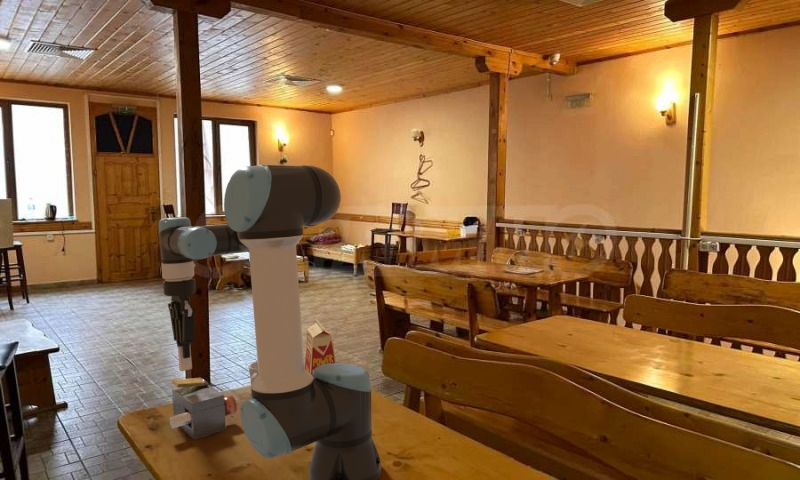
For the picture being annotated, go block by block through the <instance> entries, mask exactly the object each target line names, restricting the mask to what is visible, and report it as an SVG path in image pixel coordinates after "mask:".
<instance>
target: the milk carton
mask: <svg viewBox="0 0 800 480" xmlns="http://www.w3.org/2000/svg"><path fill="white" fill-rule="evenodd" d="M314 319H315V323H313V324H312V325H311V326H310V327H308V328H307V329H306V348H305V356H304V368H305V370H306V371H307V372H309V373H310V374H311V375H312V376H313V373H314V369H315V368H316V367H317V366H320V365H324V364H334V363H337V361H336V353H335V348H334V343H333V338H332V335H331V334H330V332H329V331H328V330H327V329H326V328H325V327H324V326H323V325H322V323H321V322H320V321H319V319H318V318H314ZM313 378H314V376H313Z"/></svg>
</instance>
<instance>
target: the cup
mask: <svg viewBox="0 0 800 480" xmlns="http://www.w3.org/2000/svg"><path fill="white" fill-rule="evenodd" d="M248 371H249V377H250V385H251V384H252V382H253V381H254V380H255V379H256V377H257V376H258V375H259V374H258V361H255V362H252V363H250V364H249V366H248Z"/></svg>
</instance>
